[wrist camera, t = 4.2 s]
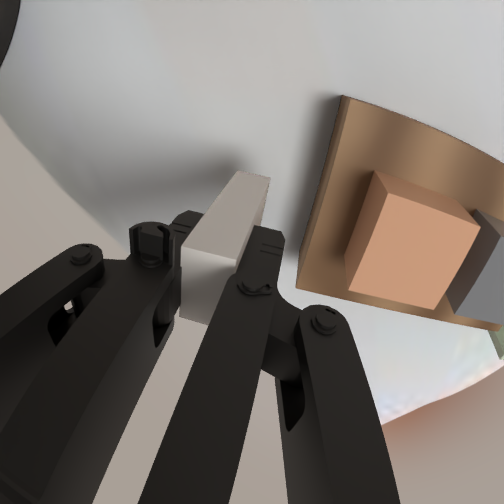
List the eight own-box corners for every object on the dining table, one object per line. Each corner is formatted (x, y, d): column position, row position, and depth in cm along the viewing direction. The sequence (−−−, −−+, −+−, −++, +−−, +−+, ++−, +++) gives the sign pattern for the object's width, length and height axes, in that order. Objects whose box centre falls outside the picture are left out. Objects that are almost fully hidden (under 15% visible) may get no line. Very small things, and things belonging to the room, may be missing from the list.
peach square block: (344, 255, 16) (347, 290, 14) (374, 170, 13) (388, 192, 11) (420, 275, 16) (433, 310, 13) (456, 200, 13) (480, 227, 10)
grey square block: (439, 280, 16) (454, 314, 13) (476, 208, 13) (501, 236, 10) (491, 295, 15) (507, 326, 13) (526, 233, 13) (550, 260, 10)
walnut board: (299, 252, 21) (295, 288, 18) (342, 94, 15) (350, 98, 12) (481, 299, 20) (497, 331, 17) (540, 186, 14) (569, 210, 11)
